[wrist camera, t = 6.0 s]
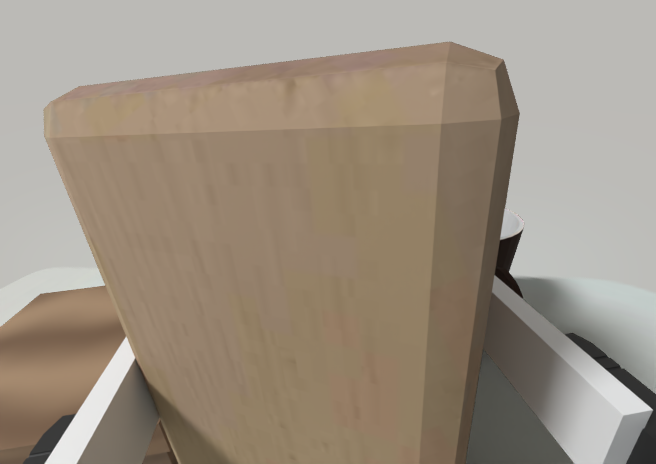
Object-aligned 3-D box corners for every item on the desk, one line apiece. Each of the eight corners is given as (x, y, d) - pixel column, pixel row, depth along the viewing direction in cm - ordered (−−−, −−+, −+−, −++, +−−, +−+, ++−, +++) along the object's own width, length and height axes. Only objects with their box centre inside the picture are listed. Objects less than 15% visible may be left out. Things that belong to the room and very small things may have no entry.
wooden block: (447, 429, 20) (488, 63, 12) (434, 689, 11) (549, 19, 3) (300, 387, 23) (256, 85, 15) (207, 562, 15) (1, 91, 7)
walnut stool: (190, 499, 17) (158, 423, 15) (-100, 554, 16) (-186, 481, 14) (228, 327, 30) (215, 271, 28) (69, 350, 29) (40, 293, 26)
